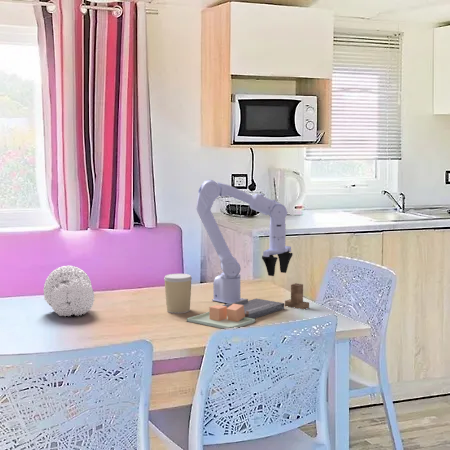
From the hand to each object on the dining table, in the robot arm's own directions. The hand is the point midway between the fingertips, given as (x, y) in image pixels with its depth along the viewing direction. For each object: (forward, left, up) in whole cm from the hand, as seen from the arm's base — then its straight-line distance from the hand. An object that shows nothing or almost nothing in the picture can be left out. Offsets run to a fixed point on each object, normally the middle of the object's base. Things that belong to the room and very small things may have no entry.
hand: (277, 274), depth 269 cm
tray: (+4, -37, -9) cm, 38 cm away
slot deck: (+4, -20, -9) cm, 22 cm away
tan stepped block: (+12, -5, -10) cm, 16 cm away
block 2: (+7, -32, -9) cm, 34 cm away
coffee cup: (-17, -34, -10) cm, 39 cm away
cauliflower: (-43, -58, -10) cm, 73 cm away
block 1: (+1, -33, -7) cm, 34 cm away
